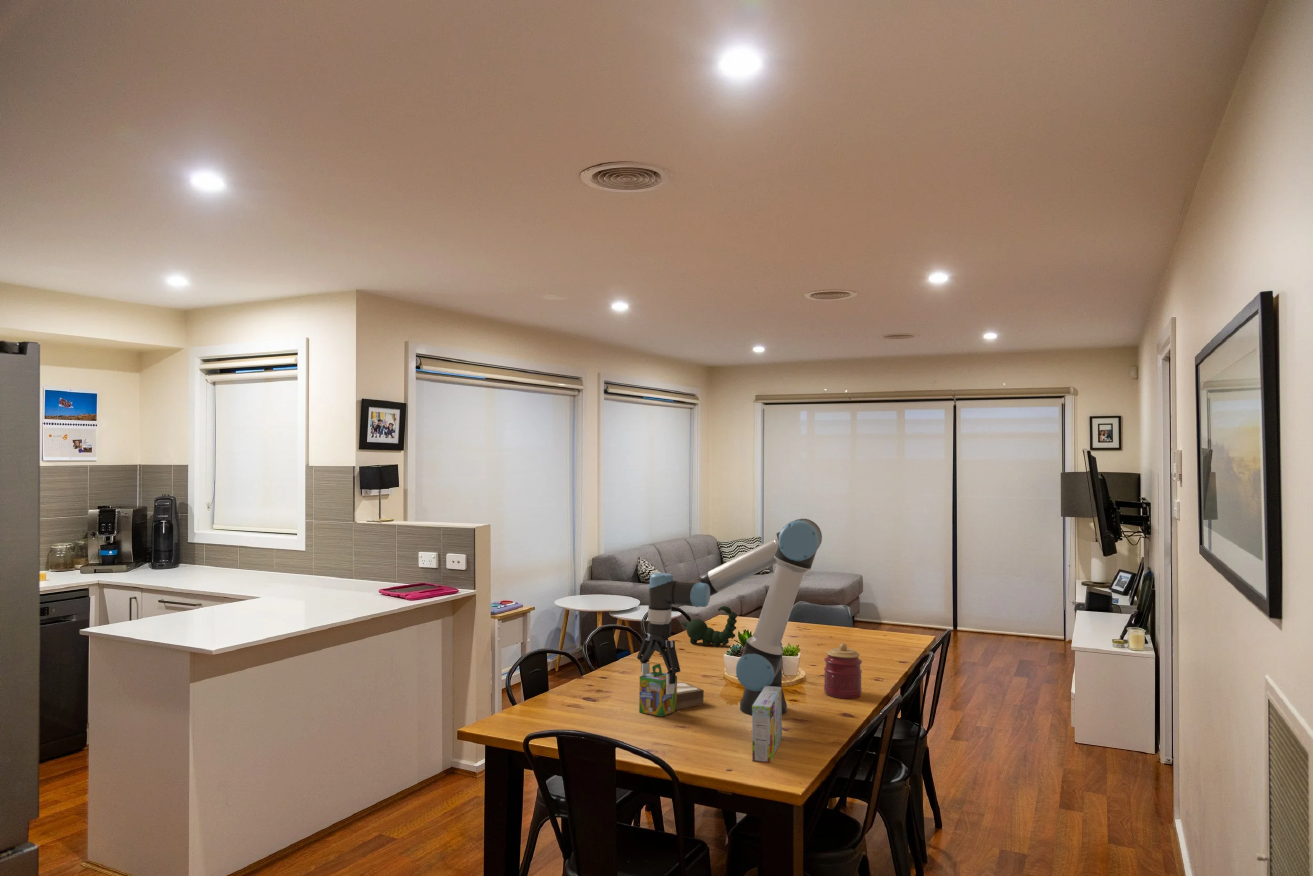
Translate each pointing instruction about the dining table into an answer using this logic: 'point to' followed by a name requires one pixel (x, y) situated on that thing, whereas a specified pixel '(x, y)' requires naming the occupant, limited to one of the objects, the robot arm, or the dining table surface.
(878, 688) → the dining table surface
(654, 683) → the chalk box
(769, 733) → the snack box
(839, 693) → the canister
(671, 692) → the robot arm
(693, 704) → the riser
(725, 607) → the toy figurine
